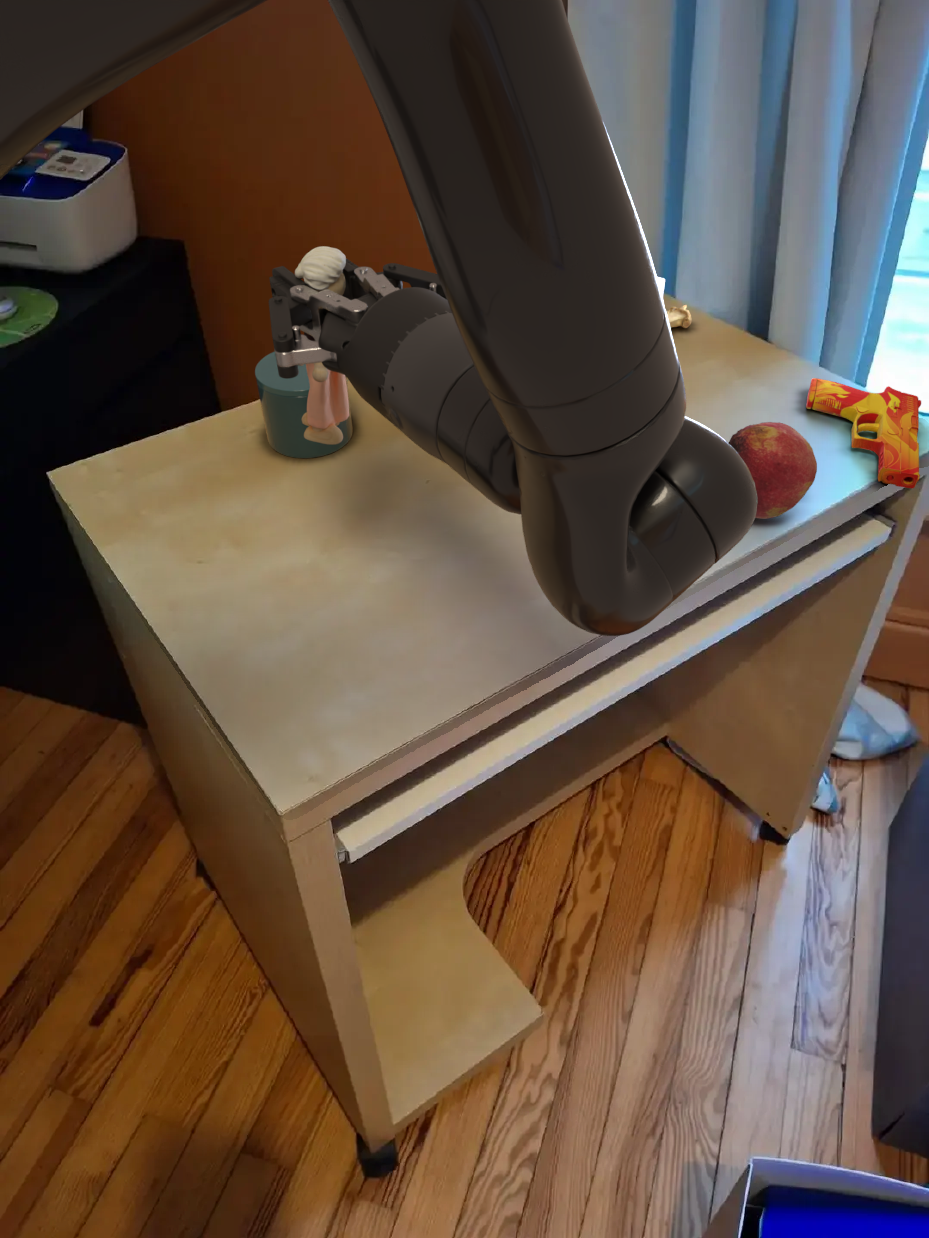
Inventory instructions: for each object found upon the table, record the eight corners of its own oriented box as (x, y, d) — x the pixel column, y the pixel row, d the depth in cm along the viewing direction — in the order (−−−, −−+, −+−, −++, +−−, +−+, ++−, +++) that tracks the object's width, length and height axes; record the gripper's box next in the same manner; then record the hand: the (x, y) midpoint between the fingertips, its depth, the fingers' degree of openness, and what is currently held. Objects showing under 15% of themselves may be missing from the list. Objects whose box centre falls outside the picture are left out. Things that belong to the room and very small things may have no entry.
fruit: (811, 498, 71) (841, 421, 74) (714, 462, 72) (747, 388, 75) (781, 550, 78) (809, 477, 81) (693, 516, 79) (724, 446, 82)
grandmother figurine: (362, 450, 65) (370, 267, 57) (307, 454, 64) (309, 268, 56) (335, 400, 71) (340, 227, 63) (284, 402, 69) (283, 226, 62)
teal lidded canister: (319, 467, 84) (309, 399, 79) (250, 443, 87) (236, 376, 82) (369, 424, 89) (362, 358, 84) (302, 403, 92) (291, 337, 87)
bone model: (682, 321, 104) (682, 302, 103) (697, 326, 102) (697, 306, 101) (573, 353, 99) (572, 333, 98) (587, 358, 97) (585, 338, 96)
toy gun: (801, 453, 81) (924, 471, 79) (813, 371, 91) (923, 384, 88) (796, 475, 83) (916, 493, 80) (808, 391, 92) (915, 405, 90)
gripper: (544, 283, 53) (387, 194, 63) (325, 355, 47) (192, 244, 58) (539, 399, 58) (395, 299, 69) (341, 477, 53) (217, 355, 63)
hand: (303, 274), depth 63 cm, fingers closed on grandmother figurine, 3 cm apart
